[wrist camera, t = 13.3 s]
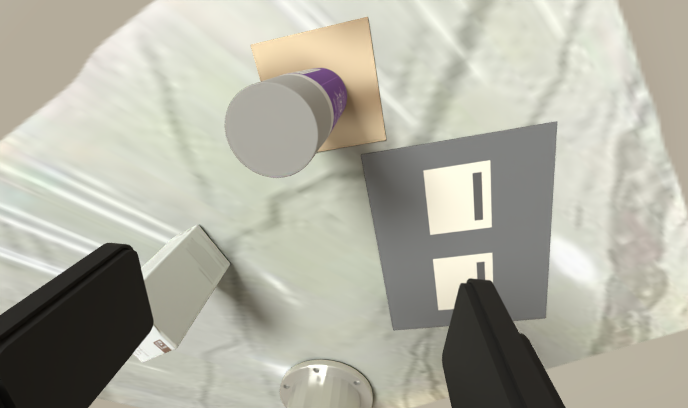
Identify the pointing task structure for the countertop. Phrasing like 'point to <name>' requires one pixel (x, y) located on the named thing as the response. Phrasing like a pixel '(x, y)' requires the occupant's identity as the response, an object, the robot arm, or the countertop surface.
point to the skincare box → (179, 288)
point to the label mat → (464, 221)
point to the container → (284, 120)
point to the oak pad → (345, 60)
